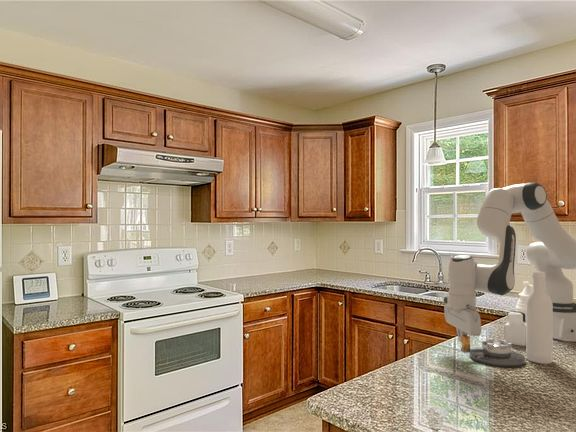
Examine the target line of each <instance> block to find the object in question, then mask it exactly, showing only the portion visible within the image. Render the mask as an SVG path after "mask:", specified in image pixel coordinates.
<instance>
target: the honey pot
mask: <svg viewBox="0 0 576 432" xmlns="http://www.w3.org/2000/svg"><path fill="white" fill-rule="evenodd" d="M522 284H523V285H524V288H523V289H522V292H520V293H517V294H518V296H519V298H518V299H517V303H516V305H515V311H518V312H522V313H524V314H525V322H526V301H527V298H528V296H529V295H530V294H531V293H533V284H530V282H529V281H527V280H526V281H522Z"/></svg>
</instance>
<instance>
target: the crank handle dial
mask: <svg viewBox="0 0 576 432" xmlns="http://www.w3.org/2000/svg"><path fill="white" fill-rule="evenodd" d="M481 345H482V346H481V347H471V336H470V335H462V342H461V347H460V352H462V353H470V352H482V353H483V354H485V355H488V356H491V357H498V358H508V357H511V351H512V344H511V343H506V340H504V339H499V340H498V341H495V340H494V338H491V337H489V338H486V340H485V339H481Z"/></svg>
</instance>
